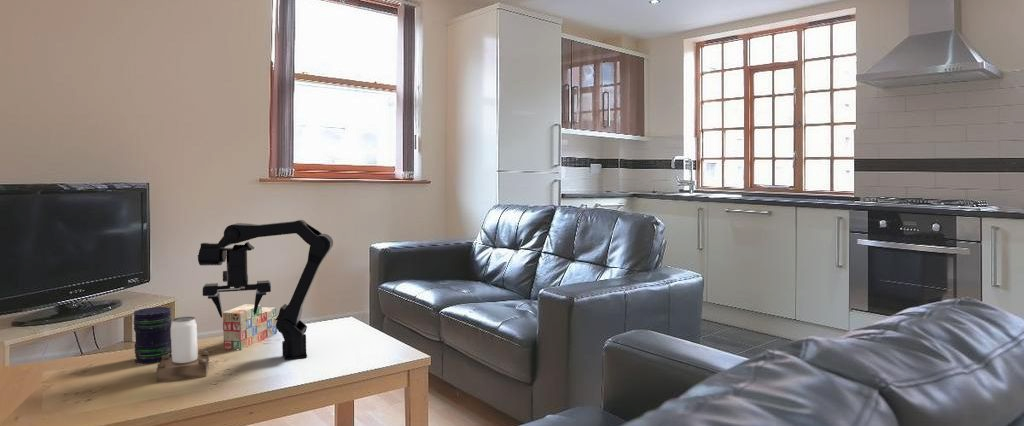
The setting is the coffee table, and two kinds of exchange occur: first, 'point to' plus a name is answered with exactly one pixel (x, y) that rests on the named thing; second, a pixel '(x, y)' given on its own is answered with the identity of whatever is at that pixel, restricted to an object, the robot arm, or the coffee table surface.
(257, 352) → the coffee table surface
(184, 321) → the can
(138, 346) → the storage jar
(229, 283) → the robot arm
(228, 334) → the stack of blocks
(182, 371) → the base brick
